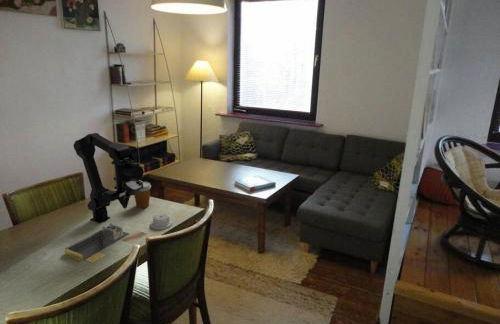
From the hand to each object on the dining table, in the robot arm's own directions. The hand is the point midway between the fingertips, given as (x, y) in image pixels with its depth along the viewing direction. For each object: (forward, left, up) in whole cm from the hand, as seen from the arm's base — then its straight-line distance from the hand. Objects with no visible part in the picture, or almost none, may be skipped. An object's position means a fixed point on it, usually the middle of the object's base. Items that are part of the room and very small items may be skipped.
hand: (125, 208), depth 157 cm
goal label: (+7, -23, -10) cm, 26 cm away
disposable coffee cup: (-12, +23, -11) cm, 29 cm away
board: (+8, -4, -10) cm, 14 cm away
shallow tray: (-1, -15, -11) cm, 18 cm away
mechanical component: (+10, +12, -11) cm, 19 cm away
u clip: (0, -8, -10) cm, 13 cm away
